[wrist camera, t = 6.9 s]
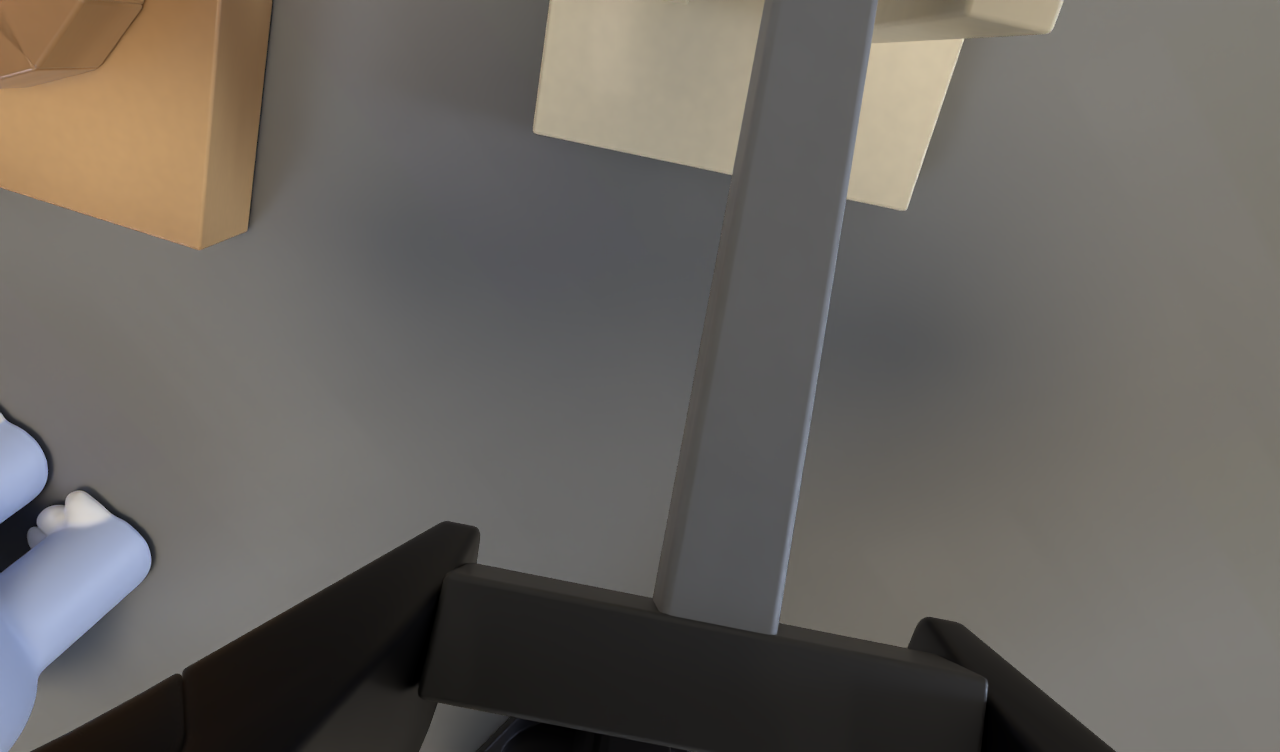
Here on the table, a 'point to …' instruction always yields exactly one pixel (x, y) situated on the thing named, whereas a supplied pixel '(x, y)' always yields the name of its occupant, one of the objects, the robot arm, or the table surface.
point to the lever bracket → (720, 74)
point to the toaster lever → (728, 489)
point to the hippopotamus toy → (54, 576)
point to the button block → (135, 110)
